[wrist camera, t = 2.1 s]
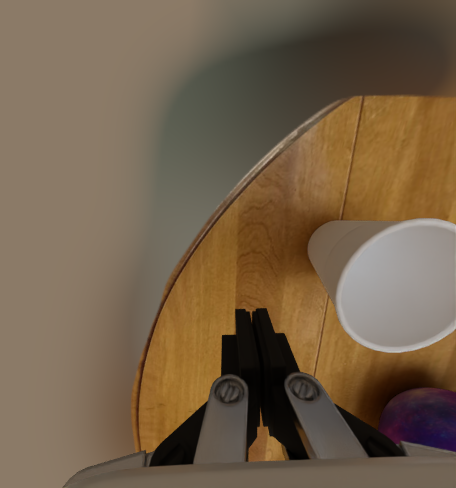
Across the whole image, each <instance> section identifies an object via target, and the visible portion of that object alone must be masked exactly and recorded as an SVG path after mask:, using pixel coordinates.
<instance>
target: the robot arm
mask: <svg viewBox="0 0 456 488" xmlns="http://www.w3.org/2000/svg"><path fill="white" fill-rule="evenodd" d="M235 318H236V335H222V360H221V377H219V378H217V379H216V380H215V381H214V383H213V384H212V387H211V390H210V394H209V398H208V401H207V402H206V403H205V404H204V405H202V406H201V407H200V408H199V409H198V410H197V411H196V412H195V413H194V414H193V415H191V416H190V417H189V418H188V419H187V420H186V421H185V422H184V423H183V424H182V425H180V426H179V427H178V428H177V429H176V430H175V431H174V432H173V433H172V434H171V435H169V436H168V437H167V438H166V439H165V440H164V441H163V442H162V443H161V444H160V445H159V446H158V447H157V448H156V450H155V451H153V452H150V453H147V454H146V450H144V451H141V452H137V453H134V454H131V455H127V456H124V457H121V458H117V459H114V460H110V461H107V462H104V463H101V464H97V465H94V466H90V467H87V468H85V469H83V470H81V471H79V472H77V473H76V474H75V475H74V476H72V477H71V478H70V479H69V480H68V482H67V483H66V484H65V485H64V486H63V488H456V452H453V451H449V450H444V449H439V448H434V447H429V446H424V445H419V444H414V443H409V442H404V441H400V443H399V444H395V443H394V442H393V441H392V440H391V439H390V438H388V437H387V436H386V435H384V434H383V433H381V432H379V431H378V430H376V429H375V428H373V427H371V426H370V425H368V424H367V423H365V422H363V421H362V420H360V419H359V418H357V417H355V416H354V415H352V414H350V413H349V412H347V411H346V410H344V409H342V408H341V407H339V406H338V405H336V404H334V403H333V402H332V400H331V399H330V397H329V396H328V394H327V393H326V391H325V390H324V388H323V387H322V385H321V384H320V382H319V381H318V380H317V379H316V378H314V377H313V376H311V375H309V374H307V373H303V372H300V370H299V368H298V365H297V363H296V360H295V358H294V355H293V353H292V351H291V348H290V346H289V343H288V341H287V338H286V336H285V334H284V333H275V332H274V329H273V326H272V323H271V320H270V317H269V314H268V311H267V309H266V308H258V309H256V311H252V322H251V317H250V312H246V310H245V309H235ZM260 409H261V415H262V421H263V426H264V427H266V426H268V429H269V435H270V436H273V437H274V438H276V439H277V440H278V441H279V442H280V443H281V444H282V445H281V447H282V452H283V455H284V458H285V461H259V462H248V460H249V447H250V446H251V445H252V443H253V442H254V441H255V439H256V438H257V427H260Z"/></svg>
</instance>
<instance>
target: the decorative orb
mask: <svg viewBox="0 0 456 488" xmlns="http://www.w3.org/2000/svg"><path fill="white" fill-rule="evenodd" d="M378 431H379V432H381V433H383V434H384V435H386V436H387V437H388V438H390V439H391V440H392V441H393V442H394V443H395V444H399V443H400V441H404V442H409V443H414V444H419V445H424V446H429V447H434V448H439V449H444V450H449V451H453V452H456V392H452V391H449V390H444V389H438V388H414V389H410V390H407V391H404V392H402V393H400V394H398V395H396V396H395V397H394V398H392V399H391V400H390V401H389V402H388V404H387V405H386V406H385V408H384V410H383V412H382V414H381V417H380V421H379V426H378Z"/></svg>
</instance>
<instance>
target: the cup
mask: <svg viewBox="0 0 456 488" xmlns="http://www.w3.org/2000/svg"><path fill="white" fill-rule="evenodd" d="M308 256H309V259H310V261H311V263H312V265H313V267H314V269H315V270H316V272H317V274H318V276H319V278H320V280H321V281H322V283H323V285H324V287H325V289H326V291H327V293H328V295H329V297H330V298H331V300H332V302H333V304H334V306H335V309H336V313H337V316H338V320H339V322H340V323H341V325H342V327H343V329H344V330H345V331H346V332H347V333H348V334H349V335H350V337H351V338H352V339H354V340H355V341H357V342H358V343H360V344H361V345H363V346H365V347H368V348H370V349H373V350H377V351H382V352H406V351H413V350H417V349H420V348H423V347H426V346H429V345H431V344H433V343H435V342H437V341H439V340H441V339H442V338H444V337H445V336H447V335H448V334H450V333H451V332H453V331H454V330H455V329H456V225H455V224H453V223H451V222H448V221H444V220H440V219H435V218H418V219H412V220H406V221H349V220H335V221H330V222H328V223H325V224H323V225H322V226H320V227H319V228H318V229H317V230H316V231H315V232H314V233H313V234H312V236H311V238H310V240H309V243H308Z"/></svg>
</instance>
